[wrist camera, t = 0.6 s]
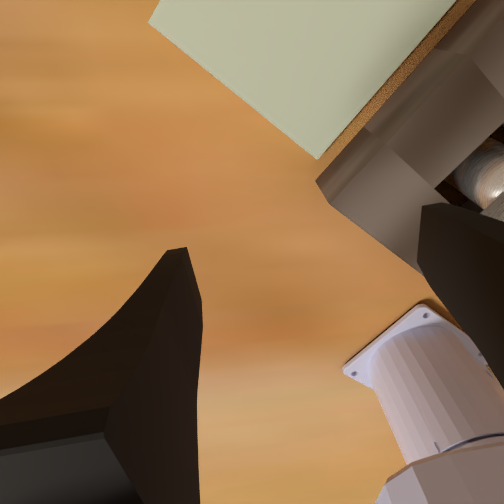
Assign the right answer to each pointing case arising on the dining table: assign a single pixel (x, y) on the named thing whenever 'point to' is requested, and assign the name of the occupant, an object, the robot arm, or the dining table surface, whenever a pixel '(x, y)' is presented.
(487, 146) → the t-key
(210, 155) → the dining table surface
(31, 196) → the dining table surface
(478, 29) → the block
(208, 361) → the dining table surface
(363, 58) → the pad
